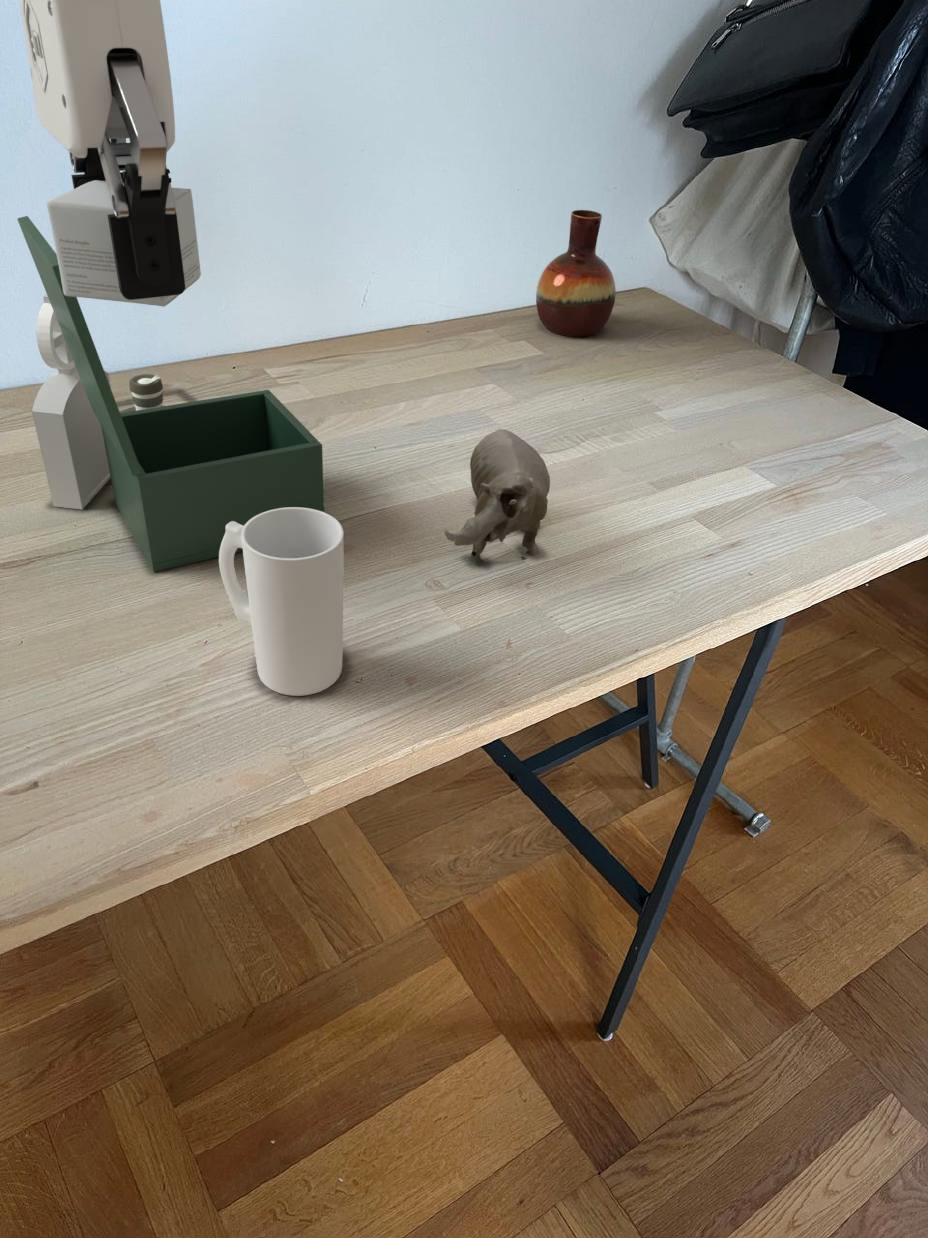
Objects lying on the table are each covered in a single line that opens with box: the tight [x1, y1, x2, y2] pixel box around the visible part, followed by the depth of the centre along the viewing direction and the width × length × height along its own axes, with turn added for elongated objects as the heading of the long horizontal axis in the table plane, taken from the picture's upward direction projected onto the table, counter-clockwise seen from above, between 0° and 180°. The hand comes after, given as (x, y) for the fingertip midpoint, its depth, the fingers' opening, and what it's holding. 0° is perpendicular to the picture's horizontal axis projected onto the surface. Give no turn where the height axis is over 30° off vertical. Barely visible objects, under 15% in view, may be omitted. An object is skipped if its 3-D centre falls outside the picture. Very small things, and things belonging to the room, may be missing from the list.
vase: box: [535, 209, 617, 338], centre depth 128 cm, size 11×11×15 cm
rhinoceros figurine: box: [444, 428, 551, 567], centre depth 83 cm, size 8×14×15 cm
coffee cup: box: [119, 373, 164, 413], centre depth 99 cm, size 12×12×5 cm
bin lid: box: [17, 215, 142, 476], centre depth 71 cm, size 16×13×1 cm
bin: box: [101, 389, 325, 573], centre depth 83 cm, size 16×13×9 cm
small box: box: [46, 180, 202, 308], centre depth 50 cm, size 6×6×5 cm
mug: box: [218, 507, 345, 697], centre depth 66 cm, size 10×7×12 cm, turn 62°
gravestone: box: [31, 293, 112, 511], centre depth 84 cm, size 3×9×18 cm, turn 174°
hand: (133, 269), depth 50 cm, fingers closed on small box, 7 cm apart
